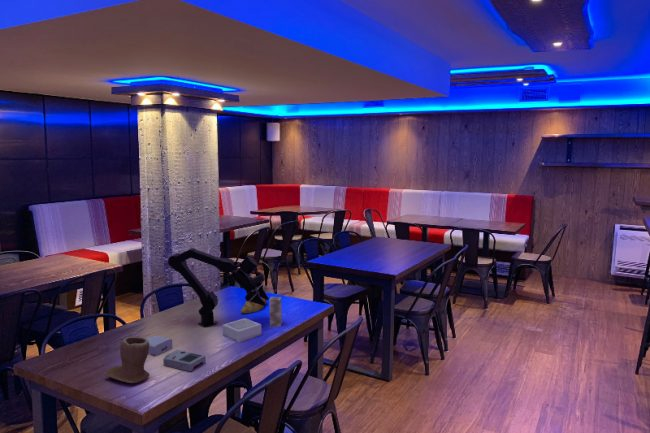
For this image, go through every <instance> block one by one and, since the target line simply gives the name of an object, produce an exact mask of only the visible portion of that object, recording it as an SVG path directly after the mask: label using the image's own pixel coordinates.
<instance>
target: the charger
mask: <svg viewBox="0 0 650 433" xmlns="http://www.w3.org/2000/svg"><path fill="white" fill-rule="evenodd" d="M146 339H147V340H148V342H149V351H148V354H149V355H151V356H160V355H161V354H164V353H166V352H169V351H170V350H172V349H173V346H174V344H173V339H171V338H167V337H163V336H159V335H154V336H152V337H151V336H150V337H149V338H146Z"/></svg>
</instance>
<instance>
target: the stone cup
mask: <svg viewBox="0 0 650 433" xmlns="http://www.w3.org/2000/svg"><path fill="white" fill-rule="evenodd" d="M147 339H148V338H144V337H141V336H127V337H125V338H123V339H122V341H121V342H120V346H119V354H120V356H119V357H120V360H121V365H116V366H113V367H110V368H109V369H107V370H106V371H105V372H104V375H105V376H106V377H108V378H111V379H113V380H116V381H120V382H122V383H127V384H137V383H140V382H143V381H144V380H147V378H148V377H150V373H149V372H148V371H147V370H145V363H146V362H147V358H148V351H149V342H148V340H147Z"/></svg>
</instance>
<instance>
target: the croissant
mask: <svg viewBox="0 0 650 433" xmlns="http://www.w3.org/2000/svg"><path fill="white" fill-rule="evenodd" d="M261 298H262V297H261ZM262 300H263V301H264V302H265V303H266V304H267V301H268V300H266V299H264V298H262ZM264 307H265V306H262V305H259V304H256V303H253V302H248V301H246V300H245V302H244V304H243V306H242V308H241V309H240V313H241V314H250V313H255V312H260V311H261V310H262V309H264Z"/></svg>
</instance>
